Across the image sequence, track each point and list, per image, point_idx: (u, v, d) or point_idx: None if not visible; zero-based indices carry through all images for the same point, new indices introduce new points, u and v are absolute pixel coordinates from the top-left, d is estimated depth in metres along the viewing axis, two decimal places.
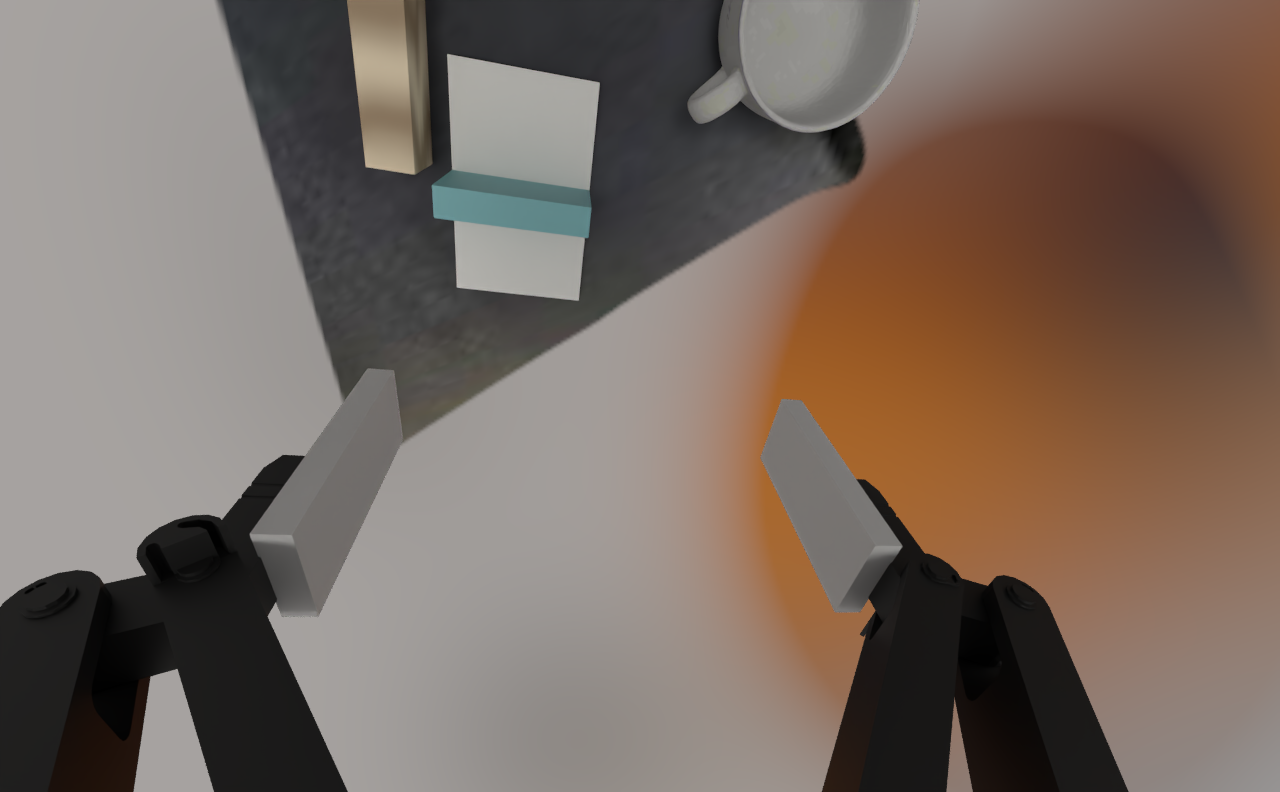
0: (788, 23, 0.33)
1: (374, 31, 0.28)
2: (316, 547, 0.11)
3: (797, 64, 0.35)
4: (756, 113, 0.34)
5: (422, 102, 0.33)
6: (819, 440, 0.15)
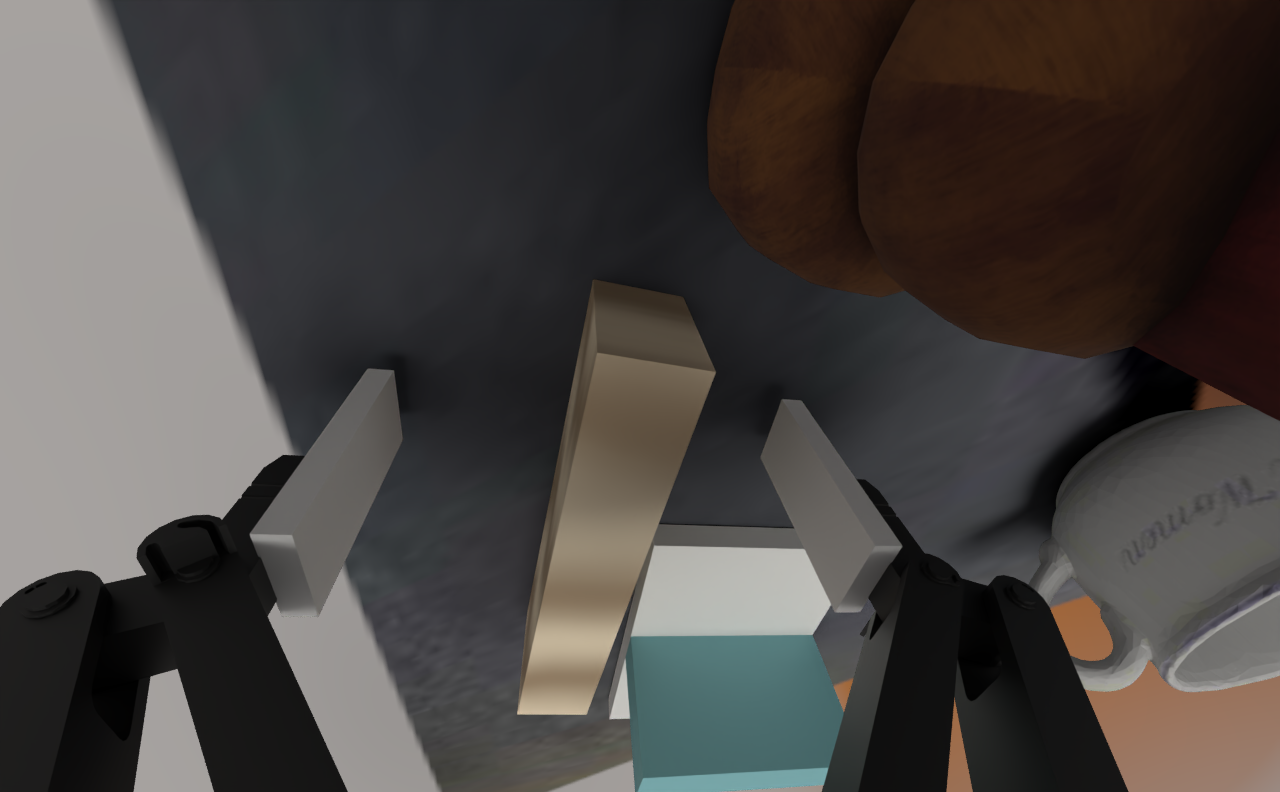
0: None
1: (576, 614, 0.17)
2: (316, 547, 0.11)
3: None
4: None
5: None
6: (819, 440, 0.15)
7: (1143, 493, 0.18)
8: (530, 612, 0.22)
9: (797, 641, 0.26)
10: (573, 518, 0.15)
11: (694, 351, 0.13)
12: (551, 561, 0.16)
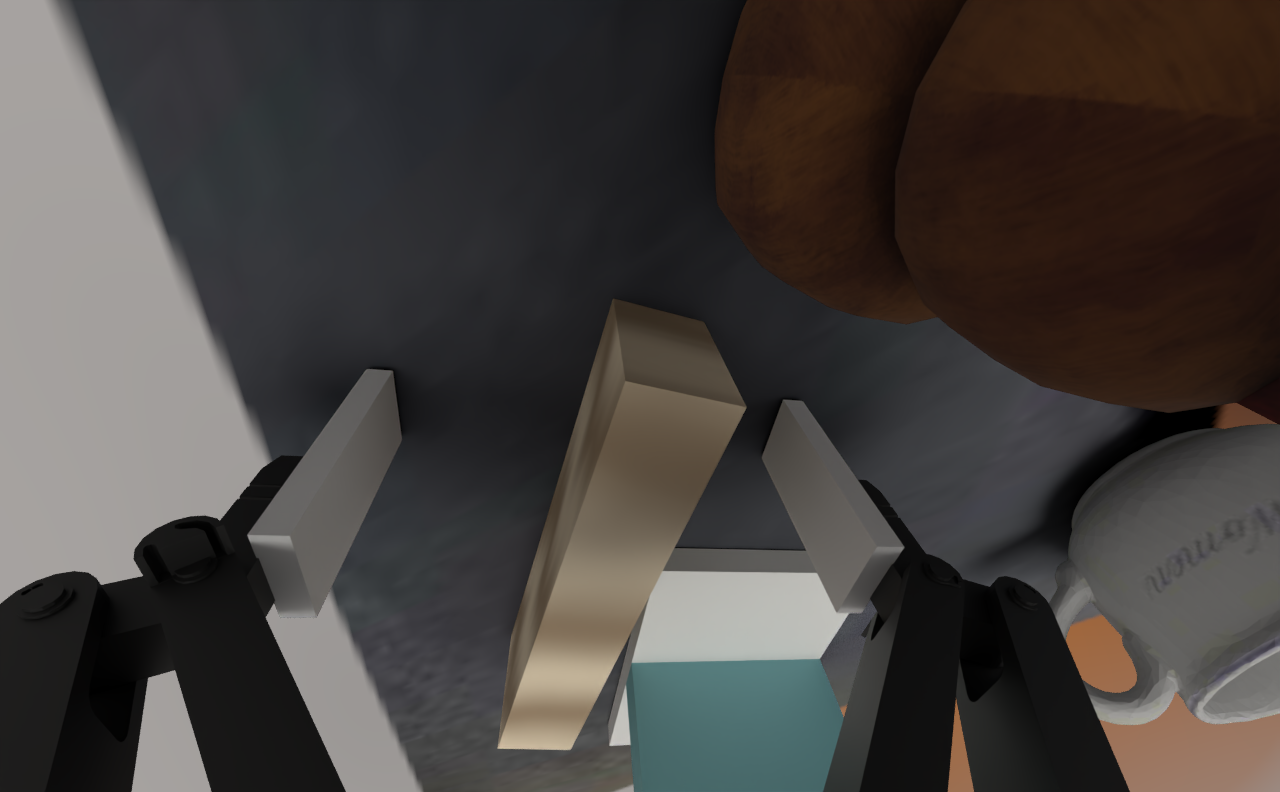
0: None
1: (572, 649, 0.16)
2: (314, 548, 0.11)
3: None
4: None
5: None
6: (820, 441, 0.15)
7: (1168, 517, 0.18)
8: (516, 638, 0.21)
9: (804, 666, 0.25)
10: (580, 550, 0.14)
11: (723, 382, 0.12)
12: (551, 593, 0.15)
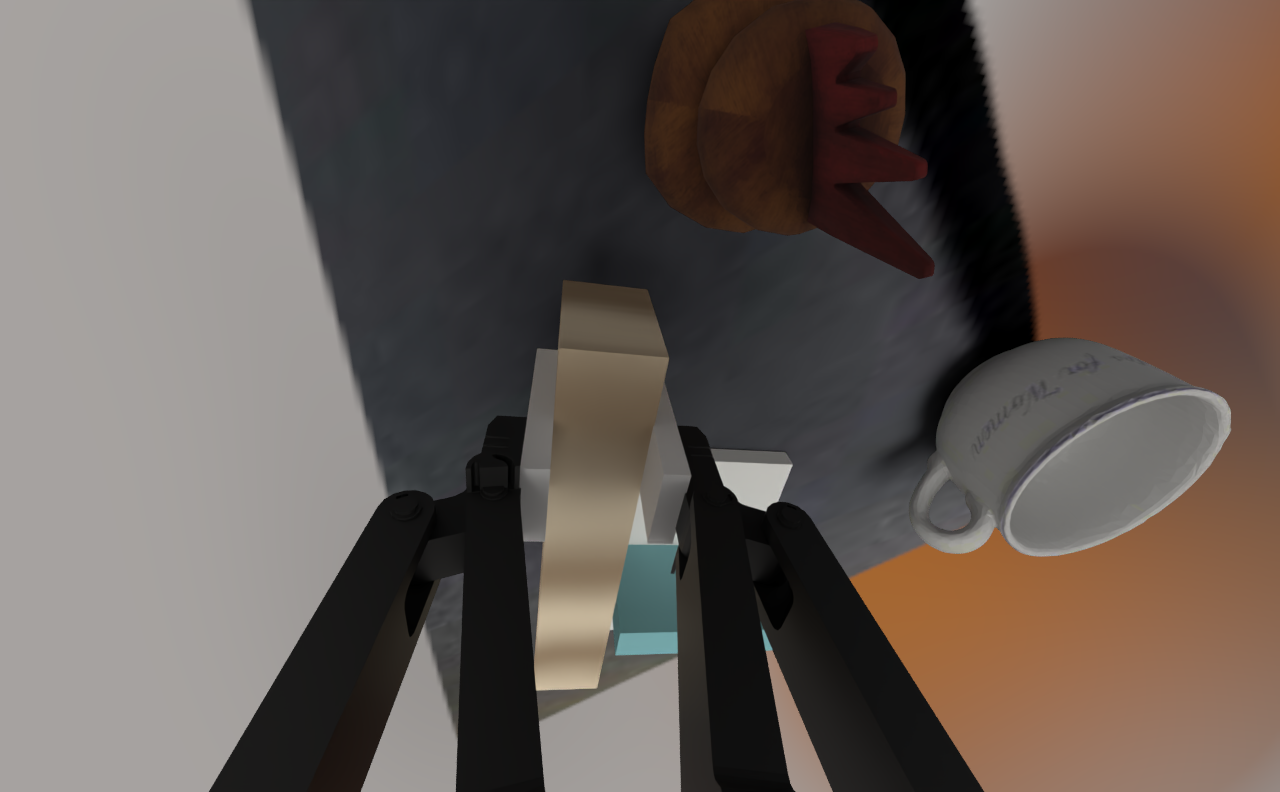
0: None
1: (574, 592, 0.19)
2: None
3: None
4: None
5: None
6: None
7: (983, 401, 0.25)
8: None
9: None
10: (558, 500, 0.16)
11: (651, 340, 0.14)
12: (544, 542, 0.17)
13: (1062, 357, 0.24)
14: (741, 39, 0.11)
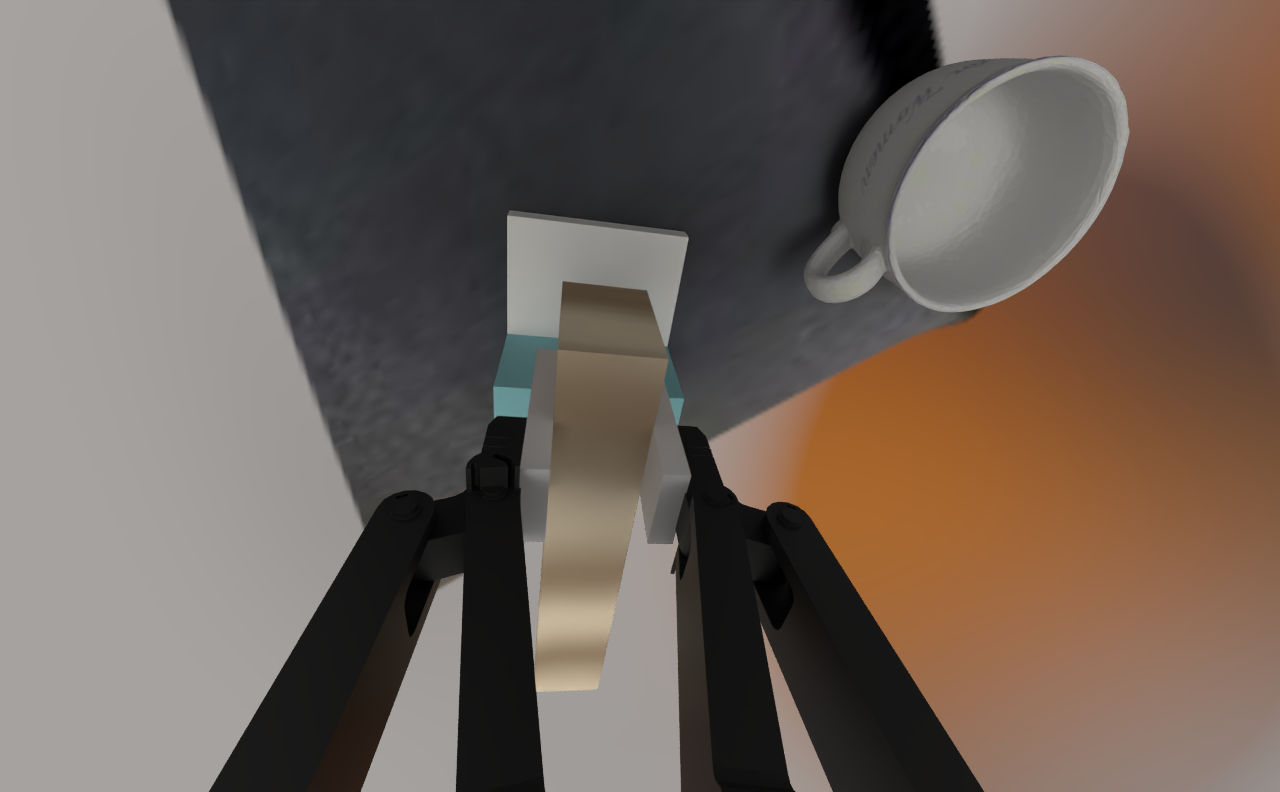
0: (920, 164, 0.27)
1: (574, 593, 0.19)
2: None
3: (925, 206, 0.28)
4: None
5: None
6: None
7: (874, 130, 0.23)
8: (539, 598, 0.24)
9: None
10: (558, 502, 0.16)
11: (651, 341, 0.14)
12: (544, 544, 0.17)
13: (953, 67, 0.22)
14: None
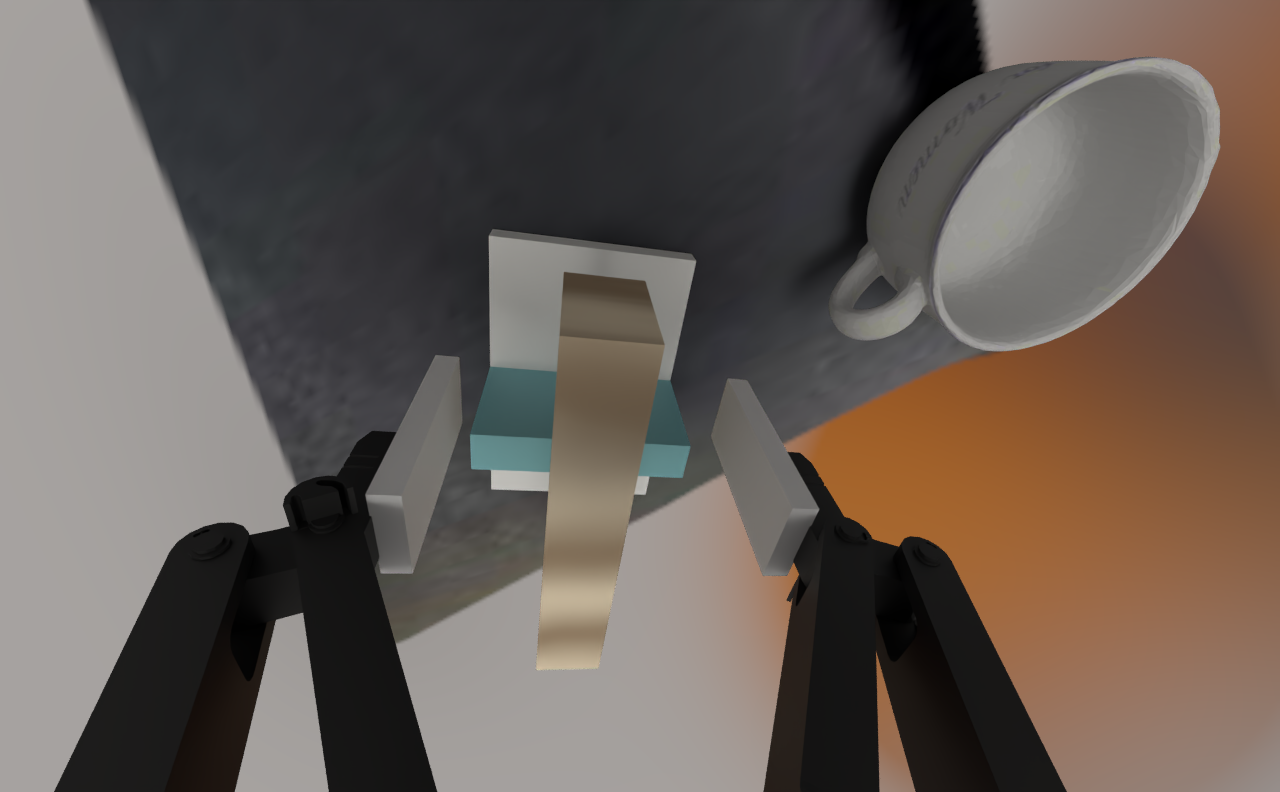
0: None
1: (576, 573, 0.20)
2: (413, 510, 0.12)
3: (962, 228, 0.25)
4: None
5: None
6: (757, 415, 0.16)
7: (913, 143, 0.20)
8: None
9: None
10: (560, 484, 0.17)
11: (648, 328, 0.15)
12: (546, 524, 0.18)
13: (1009, 70, 0.19)
14: None
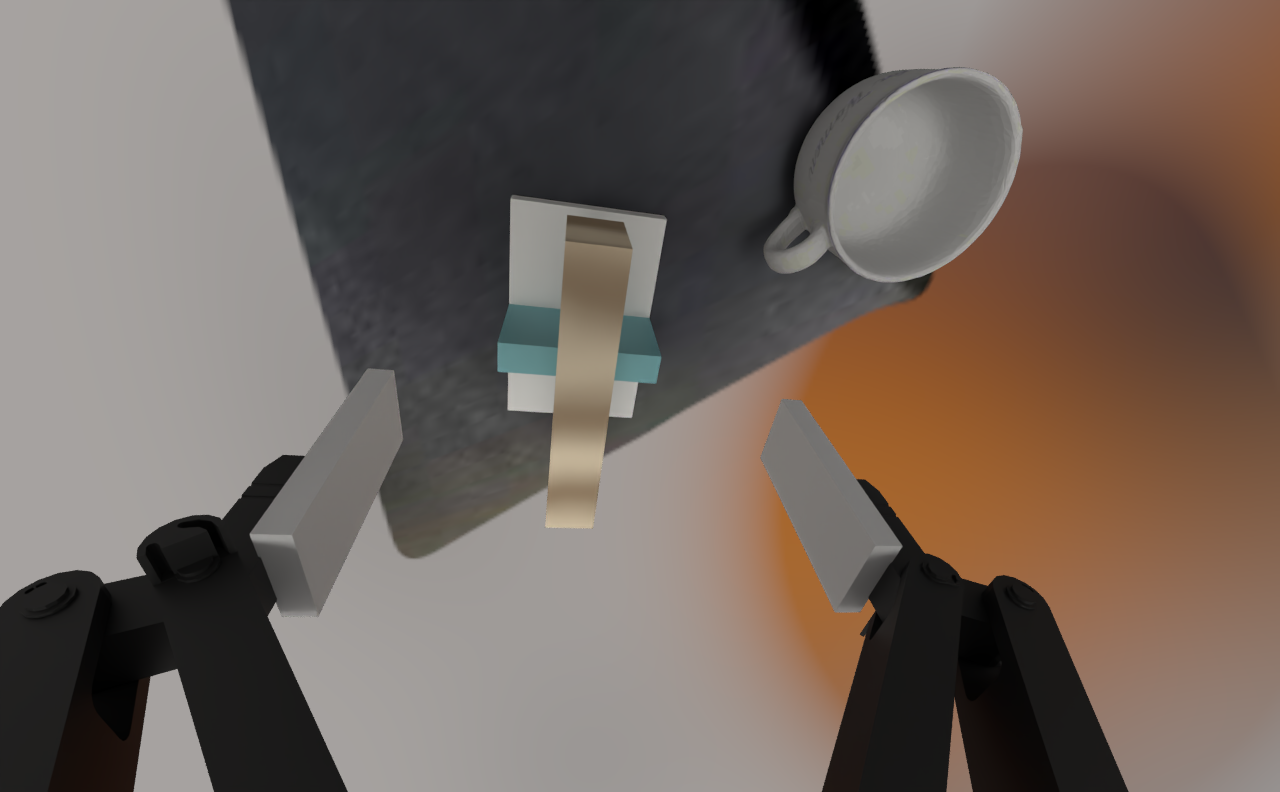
0: (864, 159, 0.32)
1: (575, 434, 0.27)
2: (316, 547, 0.11)
3: (871, 195, 0.33)
4: None
5: None
6: (819, 440, 0.15)
7: (818, 128, 0.28)
8: None
9: (636, 318, 0.35)
10: (565, 355, 0.24)
11: (622, 242, 0.23)
12: (555, 390, 0.25)
13: (881, 75, 0.27)
14: None
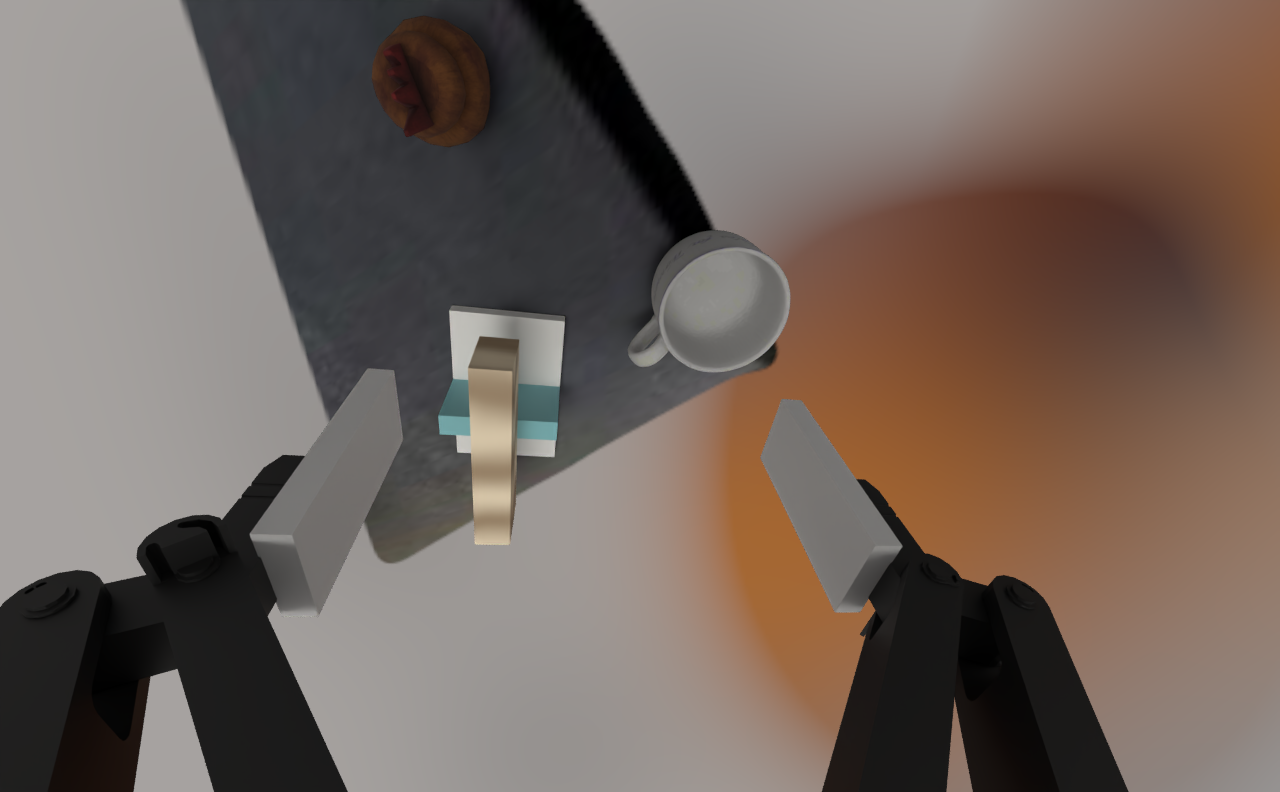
0: (706, 278, 0.44)
1: (489, 482, 0.39)
2: (316, 547, 0.11)
3: (716, 301, 0.45)
4: None
5: (513, 489, 0.44)
6: (819, 440, 0.15)
7: (659, 269, 0.40)
8: None
9: (549, 387, 0.48)
10: (475, 433, 0.37)
11: (508, 364, 0.35)
12: (471, 454, 0.38)
13: (697, 238, 0.39)
14: None
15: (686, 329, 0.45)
